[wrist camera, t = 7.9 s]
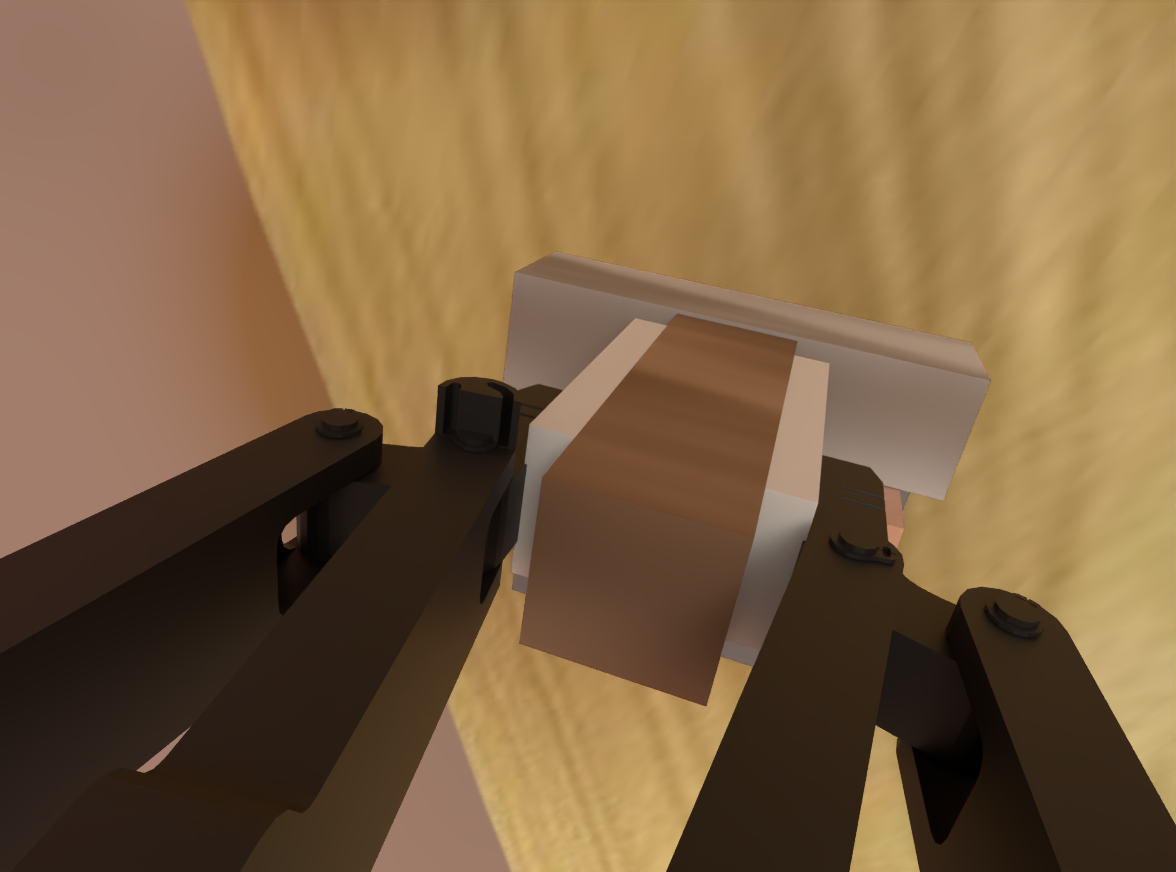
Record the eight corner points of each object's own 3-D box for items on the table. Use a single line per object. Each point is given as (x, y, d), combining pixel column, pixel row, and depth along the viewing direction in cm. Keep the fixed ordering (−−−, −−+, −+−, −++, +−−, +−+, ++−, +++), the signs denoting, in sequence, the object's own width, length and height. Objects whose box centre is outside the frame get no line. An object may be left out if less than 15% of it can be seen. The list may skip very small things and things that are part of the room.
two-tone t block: (931, 450, 20) (1016, 818, 10) (543, 352, 23) (278, 567, 12) (971, 342, 19) (1121, 634, 9) (556, 251, 21) (271, 394, 11)
